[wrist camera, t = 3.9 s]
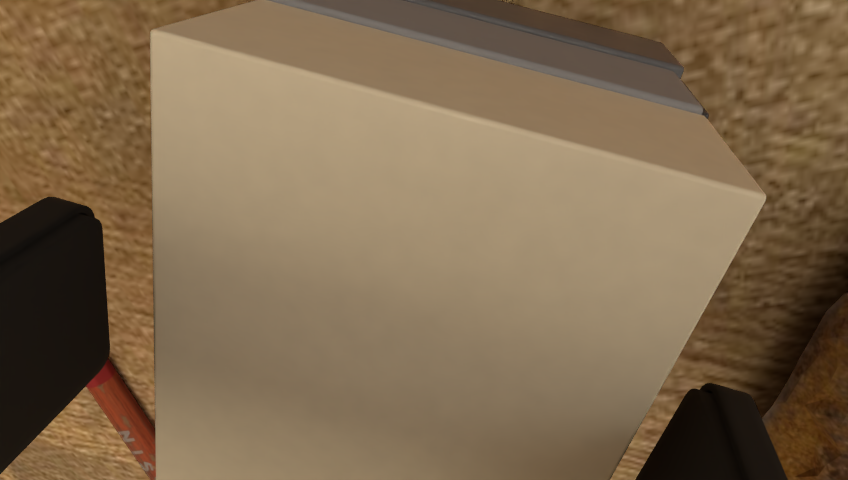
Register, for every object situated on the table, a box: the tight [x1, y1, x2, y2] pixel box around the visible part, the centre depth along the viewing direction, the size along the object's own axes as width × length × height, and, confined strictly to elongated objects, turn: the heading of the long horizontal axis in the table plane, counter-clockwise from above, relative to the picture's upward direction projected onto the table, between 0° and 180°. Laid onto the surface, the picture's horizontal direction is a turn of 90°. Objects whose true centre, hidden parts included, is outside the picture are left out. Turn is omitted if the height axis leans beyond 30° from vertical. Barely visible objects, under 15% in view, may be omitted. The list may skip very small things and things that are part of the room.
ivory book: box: [150, 0, 766, 480], centre depth 10 cm, size 7×9×3 cm
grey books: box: [268, 0, 709, 119], centre depth 14 cm, size 7×10×5 cm
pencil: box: [86, 359, 156, 480], centre depth 23 cm, size 19×1×1 cm, turn 18°
